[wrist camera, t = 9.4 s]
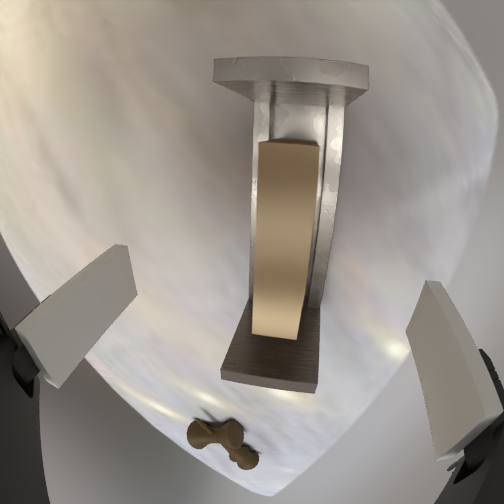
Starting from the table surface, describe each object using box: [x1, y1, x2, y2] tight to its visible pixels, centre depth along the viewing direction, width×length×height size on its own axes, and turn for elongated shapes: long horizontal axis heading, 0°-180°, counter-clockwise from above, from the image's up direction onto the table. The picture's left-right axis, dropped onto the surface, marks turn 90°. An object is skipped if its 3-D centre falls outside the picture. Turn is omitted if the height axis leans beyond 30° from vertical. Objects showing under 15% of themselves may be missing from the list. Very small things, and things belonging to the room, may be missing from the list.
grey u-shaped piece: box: [213, 57, 369, 393], centre depth 19 cm, size 20×7×12 cm, turn 179°
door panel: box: [252, 138, 320, 340], centre depth 20 cm, size 12×3×10 cm, turn 179°
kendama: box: [187, 418, 259, 470], centre depth 43 cm, size 6×10×20 cm
